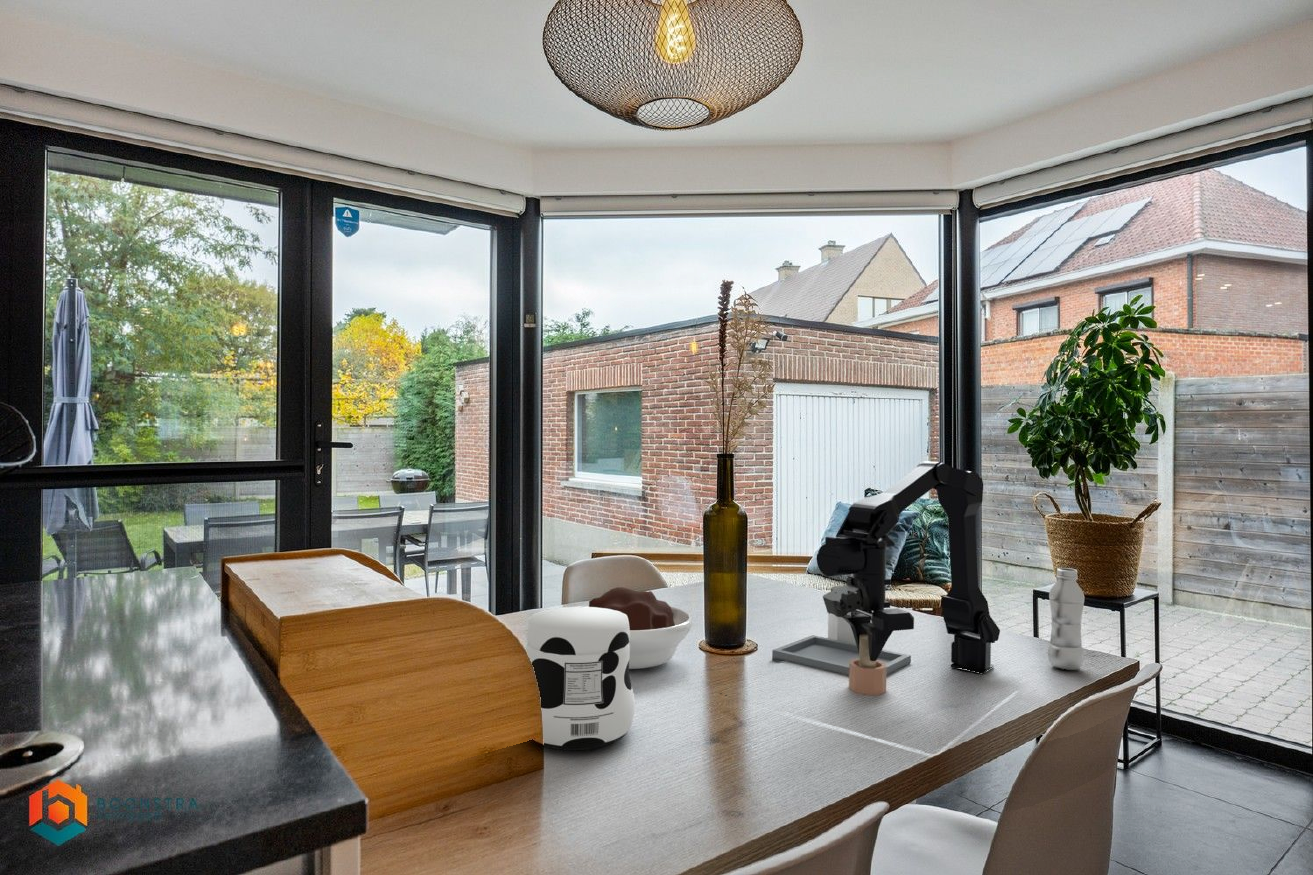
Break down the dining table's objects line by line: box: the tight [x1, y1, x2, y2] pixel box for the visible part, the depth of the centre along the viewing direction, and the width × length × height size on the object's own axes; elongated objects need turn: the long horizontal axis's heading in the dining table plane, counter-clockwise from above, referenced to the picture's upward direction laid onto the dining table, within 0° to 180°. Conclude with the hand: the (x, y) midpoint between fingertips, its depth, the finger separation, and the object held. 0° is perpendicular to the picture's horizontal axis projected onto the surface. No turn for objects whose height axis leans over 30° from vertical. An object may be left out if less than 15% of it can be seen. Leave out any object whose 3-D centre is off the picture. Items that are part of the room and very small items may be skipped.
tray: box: [771, 634, 912, 677], centre depth 157 cm, size 22×16×2 cm
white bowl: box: [584, 586, 693, 670], centre depth 155 cm, size 25×25×15 cm
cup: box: [848, 659, 887, 696], centre depth 139 cm, size 6×6×5 cm
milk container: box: [525, 606, 636, 751], centre depth 117 cm, size 17×17×18 cm
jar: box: [827, 585, 856, 644], centre depth 172 cm, size 9×8×12 cm
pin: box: [859, 634, 876, 668], centre depth 139 cm, size 3×3×10 cm
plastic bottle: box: [1047, 567, 1086, 671], centre depth 155 cm, size 6×7×20 cm
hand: (867, 658), depth 139 cm, fingers closed on pin, 3 cm apart
